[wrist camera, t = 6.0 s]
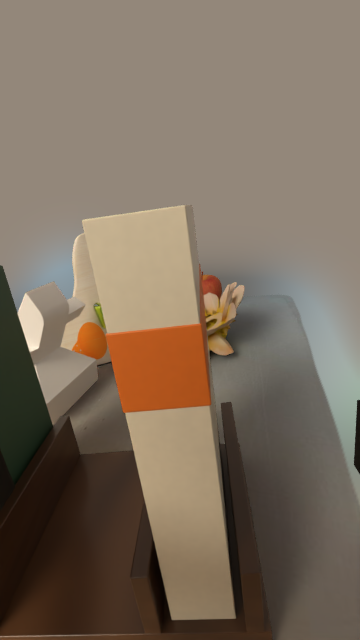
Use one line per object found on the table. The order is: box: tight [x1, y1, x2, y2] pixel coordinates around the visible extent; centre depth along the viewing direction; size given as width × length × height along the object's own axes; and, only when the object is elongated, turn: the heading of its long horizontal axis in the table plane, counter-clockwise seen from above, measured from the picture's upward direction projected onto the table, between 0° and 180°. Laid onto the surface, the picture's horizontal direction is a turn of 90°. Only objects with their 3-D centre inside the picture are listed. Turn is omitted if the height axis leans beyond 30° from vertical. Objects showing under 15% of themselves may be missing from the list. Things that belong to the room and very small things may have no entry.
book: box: [82, 205, 236, 620], centre depth 17 cm, size 3×11×18 cm, turn 177°
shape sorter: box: [60, 233, 111, 365], centre depth 49 cm, size 20×10×18 cm, turn 162°
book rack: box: [0, 402, 272, 640], centre depth 19 cm, size 18×12×13 cm, turn 87°
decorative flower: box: [204, 282, 244, 355], centre depth 46 cm, size 15×11×10 cm
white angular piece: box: [18, 282, 98, 425], centre depth 35 cm, size 8×14×14 cm, turn 164°
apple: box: [201, 272, 222, 301], centre depth 60 cm, size 7×7×8 cm
